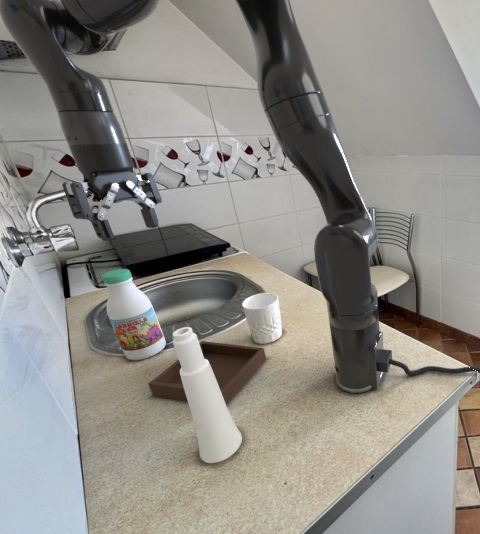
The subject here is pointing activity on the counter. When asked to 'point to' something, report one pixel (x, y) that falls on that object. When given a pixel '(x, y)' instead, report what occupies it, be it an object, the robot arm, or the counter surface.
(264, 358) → the tray
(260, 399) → the counter surface
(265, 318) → the white cup
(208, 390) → the cosmetic bottle
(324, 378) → the counter surface
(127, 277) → the milk bottle
